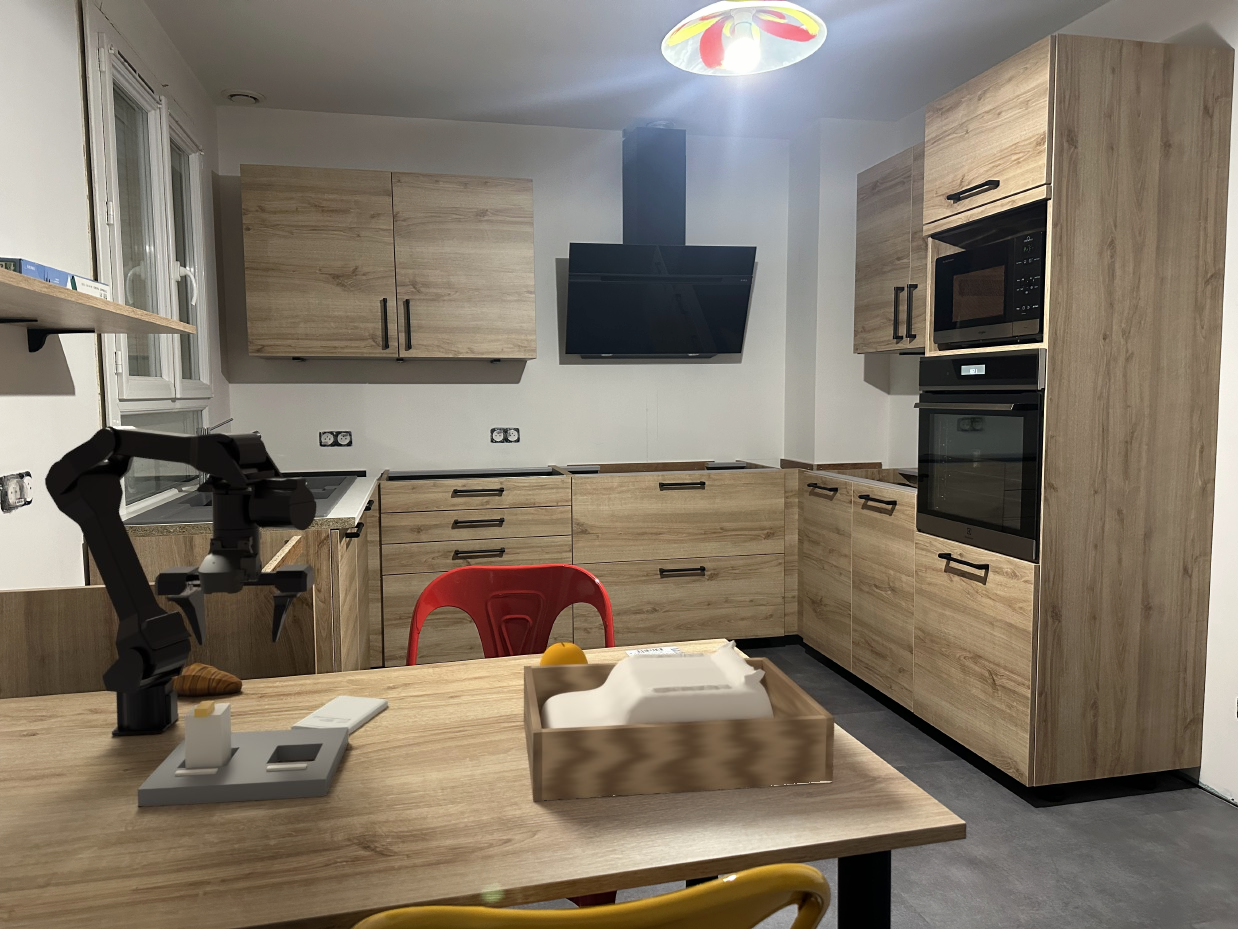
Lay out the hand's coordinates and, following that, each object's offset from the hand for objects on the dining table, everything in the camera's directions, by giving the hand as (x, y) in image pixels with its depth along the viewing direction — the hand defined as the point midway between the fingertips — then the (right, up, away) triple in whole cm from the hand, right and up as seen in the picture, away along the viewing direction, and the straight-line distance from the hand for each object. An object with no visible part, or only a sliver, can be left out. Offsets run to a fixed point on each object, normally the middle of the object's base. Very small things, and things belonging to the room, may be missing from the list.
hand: (238, 643), depth 112 cm
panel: (+6, -14, -9) cm, 18 cm away
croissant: (-15, -12, +19) cm, 27 cm away
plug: (+1, -14, -10) cm, 17 cm away
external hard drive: (+11, -13, +9) cm, 19 cm away
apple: (+42, -12, +23) cm, 49 cm away
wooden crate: (+57, -14, -1) cm, 59 cm away
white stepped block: (+55, -14, -4) cm, 57 cm away
